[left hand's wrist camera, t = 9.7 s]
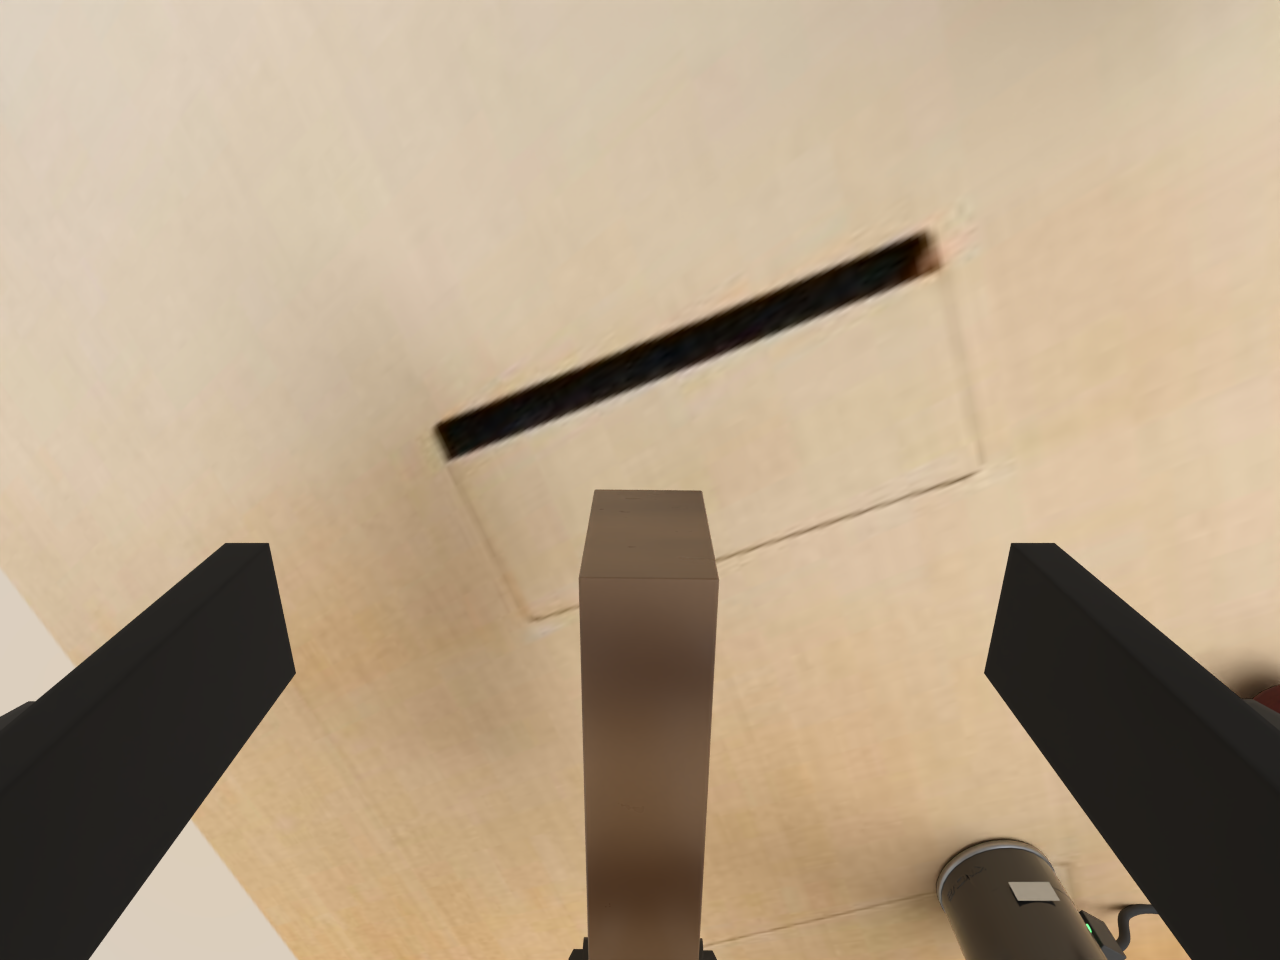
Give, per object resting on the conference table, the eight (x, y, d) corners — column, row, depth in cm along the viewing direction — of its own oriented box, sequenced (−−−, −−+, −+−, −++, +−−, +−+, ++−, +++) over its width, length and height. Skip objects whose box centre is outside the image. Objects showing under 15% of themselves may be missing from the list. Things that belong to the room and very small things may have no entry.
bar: (594, 489, 32) (578, 577, 24) (701, 490, 32) (719, 579, 24) (601, 934, 42) (591, 1093, 35) (683, 935, 42) (691, 1094, 34)
